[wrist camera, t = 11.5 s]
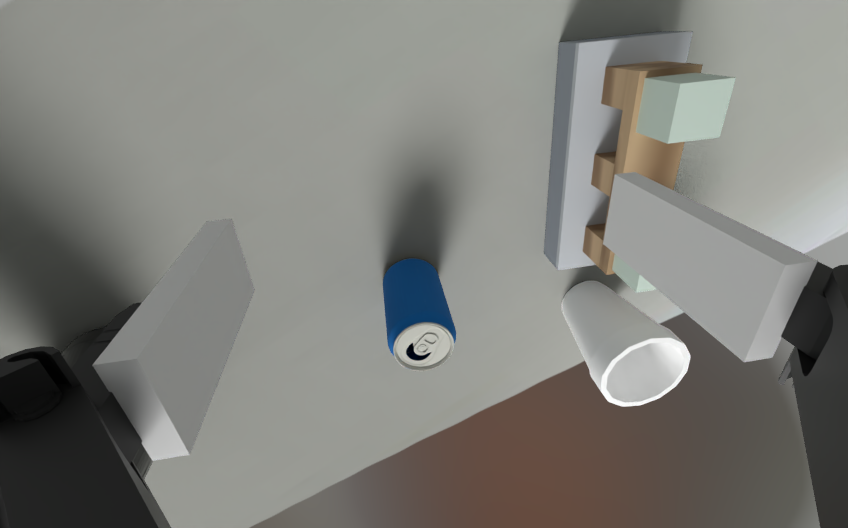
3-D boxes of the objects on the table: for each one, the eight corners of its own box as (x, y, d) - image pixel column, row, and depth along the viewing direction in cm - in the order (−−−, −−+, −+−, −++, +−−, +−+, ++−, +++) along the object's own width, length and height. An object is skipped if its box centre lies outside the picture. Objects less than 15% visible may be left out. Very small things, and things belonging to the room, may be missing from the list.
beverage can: (371, 286, 47) (374, 357, 37) (404, 244, 45) (417, 307, 35) (415, 310, 50) (429, 383, 40) (448, 272, 48) (473, 339, 38)
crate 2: (635, 132, 33) (667, 143, 30) (644, 78, 31) (680, 83, 28) (682, 126, 33) (719, 137, 30) (694, 72, 31) (735, 77, 28)
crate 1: (612, 269, 39) (636, 292, 36) (618, 232, 37) (644, 252, 34) (651, 264, 40) (678, 286, 36) (659, 226, 38) (689, 246, 34)
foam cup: (629, 304, 54) (699, 376, 43) (568, 341, 56) (620, 419, 45) (603, 256, 50) (674, 321, 38) (537, 297, 51) (586, 371, 40)
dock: (543, 253, 48) (557, 270, 45) (559, 42, 37) (579, 43, 34) (624, 241, 49) (644, 257, 46) (662, 31, 38) (692, 31, 35)
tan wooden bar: (582, 251, 44) (606, 274, 40) (605, 66, 35) (639, 71, 31) (626, 244, 44) (655, 267, 40) (660, 60, 35) (702, 64, 31)
